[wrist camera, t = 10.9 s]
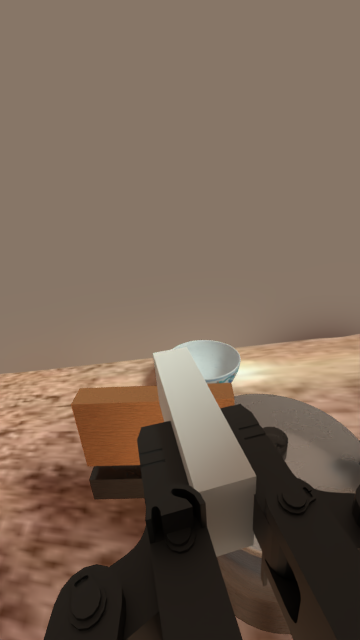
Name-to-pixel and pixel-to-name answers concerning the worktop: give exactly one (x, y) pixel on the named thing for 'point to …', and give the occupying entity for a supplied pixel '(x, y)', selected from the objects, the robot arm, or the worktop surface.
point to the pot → (236, 566)
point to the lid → (270, 410)
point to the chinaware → (214, 360)
